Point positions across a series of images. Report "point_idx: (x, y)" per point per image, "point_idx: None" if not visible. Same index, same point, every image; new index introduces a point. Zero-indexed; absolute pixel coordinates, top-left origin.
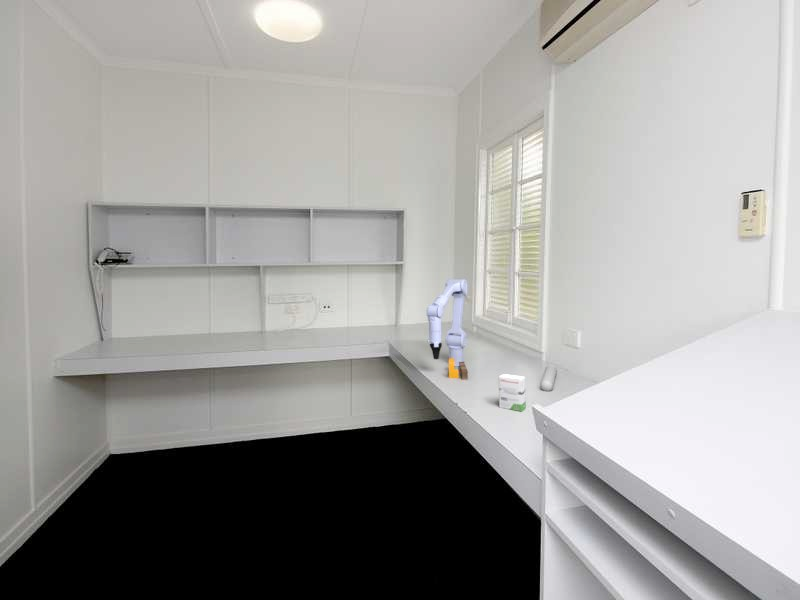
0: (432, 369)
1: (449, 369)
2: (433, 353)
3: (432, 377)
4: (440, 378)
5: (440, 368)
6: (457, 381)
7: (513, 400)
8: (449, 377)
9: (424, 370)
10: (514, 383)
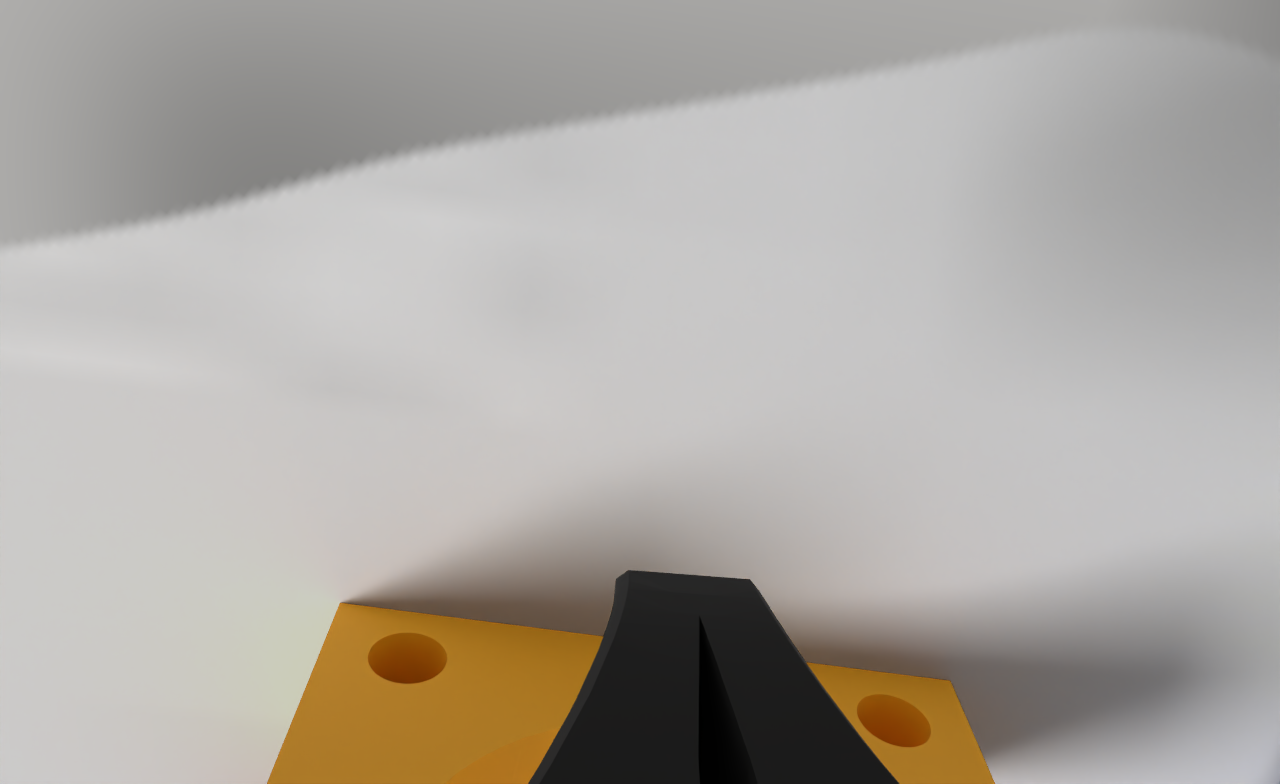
0: (1230, 314)
1: (273, 776)
2: (553, 770)
3: (425, 218)
4: (317, 413)
5: (1237, 525)
6: (75, 723)
7: None
8: (335, 620)
9: (1223, 58)
10: None
